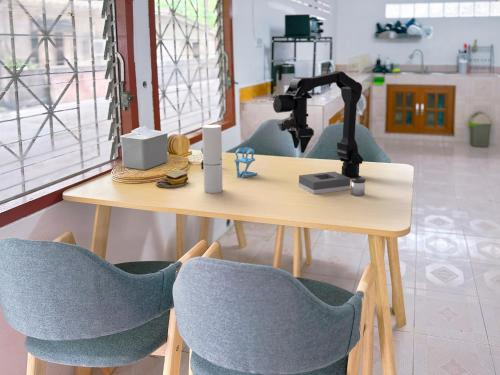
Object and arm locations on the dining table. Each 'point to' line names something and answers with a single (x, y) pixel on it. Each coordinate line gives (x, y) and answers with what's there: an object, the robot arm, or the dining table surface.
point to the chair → (244, 160)
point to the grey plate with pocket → (324, 182)
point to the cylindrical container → (212, 158)
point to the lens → (358, 186)
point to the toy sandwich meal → (173, 179)
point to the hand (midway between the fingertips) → (299, 150)
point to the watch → (202, 160)
